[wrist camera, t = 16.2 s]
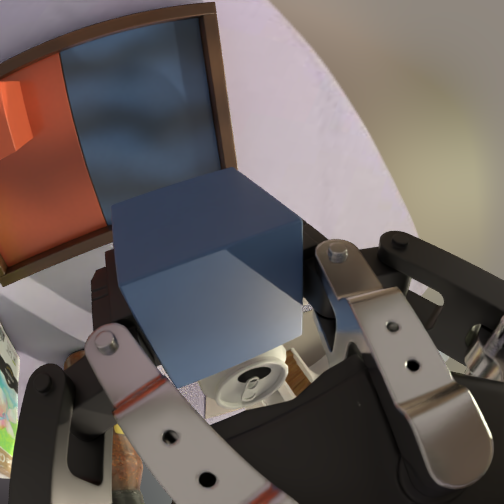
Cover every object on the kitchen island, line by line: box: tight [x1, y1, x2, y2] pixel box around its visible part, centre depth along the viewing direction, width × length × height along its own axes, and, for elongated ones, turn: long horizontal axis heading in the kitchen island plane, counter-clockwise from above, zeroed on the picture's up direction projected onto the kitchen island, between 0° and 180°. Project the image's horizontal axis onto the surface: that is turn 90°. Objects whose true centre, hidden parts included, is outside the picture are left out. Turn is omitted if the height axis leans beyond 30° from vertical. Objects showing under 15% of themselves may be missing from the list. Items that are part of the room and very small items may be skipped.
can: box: [198, 345, 288, 409], centre depth 26 cm, size 8×8×12 cm
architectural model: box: [205, 310, 329, 419], centre depth 36 cm, size 28×21×23 cm
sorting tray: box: [0, 2, 238, 287], centre depth 17 cm, size 16×22×2 cm
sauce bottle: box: [64, 351, 145, 504], centre depth 21 cm, size 7×6×20 cm
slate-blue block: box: [111, 167, 303, 388], centre depth 10 cm, size 4×4×4 cm
